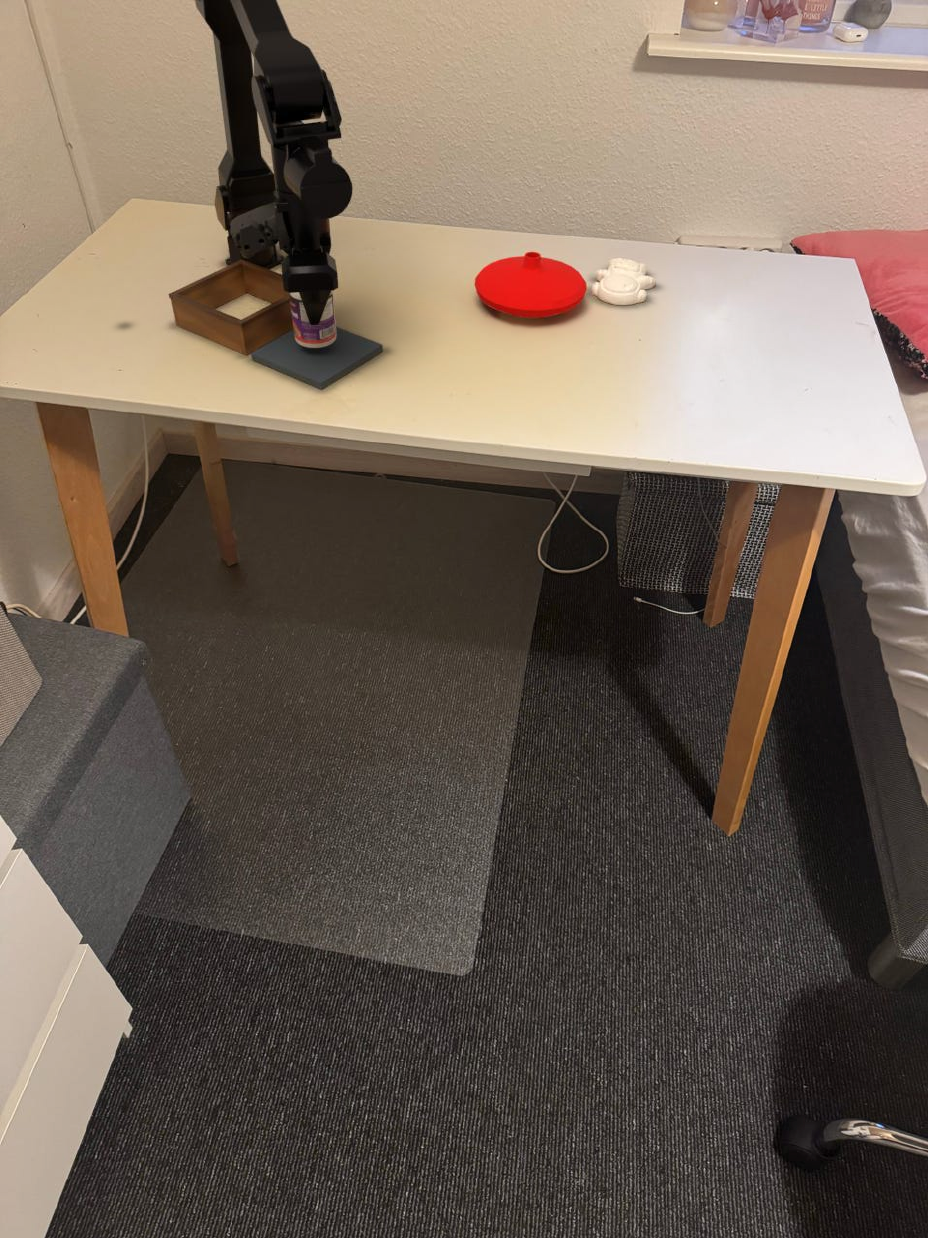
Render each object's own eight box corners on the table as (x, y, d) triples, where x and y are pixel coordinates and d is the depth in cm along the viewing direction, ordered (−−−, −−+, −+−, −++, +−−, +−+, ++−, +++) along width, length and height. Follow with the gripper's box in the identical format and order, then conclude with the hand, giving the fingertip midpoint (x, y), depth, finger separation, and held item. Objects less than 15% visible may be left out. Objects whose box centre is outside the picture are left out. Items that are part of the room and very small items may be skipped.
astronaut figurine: (661, 276, 140) (665, 256, 138) (638, 310, 132) (642, 289, 130) (605, 265, 143) (608, 245, 141) (580, 297, 135) (582, 277, 133)
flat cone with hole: (455, 314, 131) (455, 265, 126) (500, 270, 141) (503, 223, 136) (560, 340, 126) (565, 290, 121) (600, 292, 136) (606, 244, 131)
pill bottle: (295, 328, 122) (287, 255, 115) (337, 328, 123) (331, 254, 116) (293, 349, 118) (284, 275, 112) (336, 348, 119) (330, 274, 112)
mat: (314, 324, 128) (313, 317, 127) (383, 351, 123) (382, 344, 122) (251, 359, 121) (250, 352, 120) (321, 389, 116) (320, 382, 115)
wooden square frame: (246, 289, 135) (241, 259, 132) (315, 316, 130) (312, 285, 126) (175, 325, 127) (168, 293, 124) (246, 355, 122) (241, 323, 119)
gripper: (229, 158, 112) (248, 283, 123) (227, 221, 99) (248, 354, 111) (322, 154, 114) (333, 278, 125) (333, 216, 101) (343, 348, 112)
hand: (313, 313), depth 118 cm, fingers closed on pill bottle, 5 cm apart
